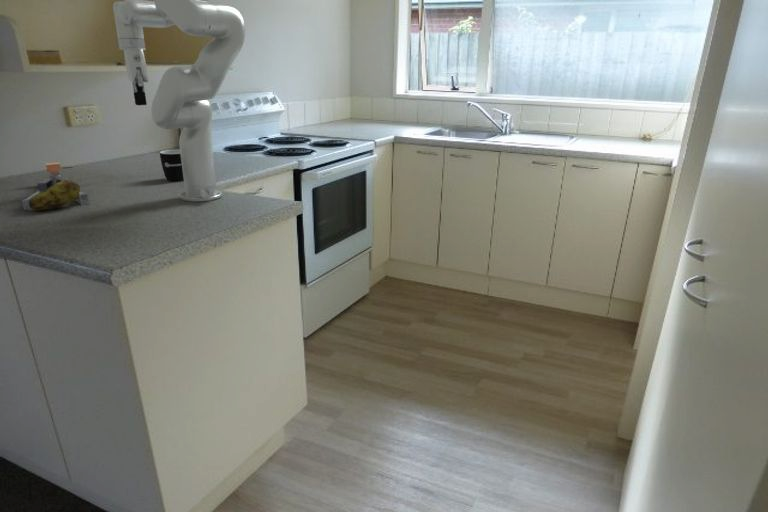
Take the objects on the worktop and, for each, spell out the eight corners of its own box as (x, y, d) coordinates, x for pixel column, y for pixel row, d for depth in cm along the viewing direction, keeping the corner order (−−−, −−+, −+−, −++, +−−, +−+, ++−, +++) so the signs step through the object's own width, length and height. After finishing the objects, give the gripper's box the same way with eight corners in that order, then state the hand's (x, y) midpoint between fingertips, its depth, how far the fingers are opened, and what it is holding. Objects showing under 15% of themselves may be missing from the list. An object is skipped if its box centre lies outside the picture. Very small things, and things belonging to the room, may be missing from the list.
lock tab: (61, 170, 177) (59, 163, 176) (47, 172, 175) (45, 164, 174) (60, 169, 180) (59, 162, 179) (47, 170, 178) (45, 163, 177)
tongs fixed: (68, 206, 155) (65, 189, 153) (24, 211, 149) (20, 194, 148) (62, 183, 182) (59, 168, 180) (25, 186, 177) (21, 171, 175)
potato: (36, 206, 154) (30, 179, 152) (85, 203, 158) (80, 177, 155) (28, 214, 147) (22, 186, 144) (80, 210, 151) (74, 183, 148)
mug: (161, 182, 185) (157, 154, 181) (166, 177, 193) (162, 149, 189) (196, 181, 187) (193, 153, 183) (199, 176, 195) (196, 149, 192)
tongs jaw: (56, 191, 171) (53, 176, 169) (64, 190, 172) (61, 175, 171) (81, 205, 156) (78, 188, 155) (89, 203, 158) (86, 187, 156)
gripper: (149, 44, 162) (157, 106, 168) (140, 45, 173) (149, 103, 180) (122, 44, 158) (132, 107, 164) (115, 45, 170) (125, 103, 176)
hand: (141, 104), depth 172 cm, fingers closed
